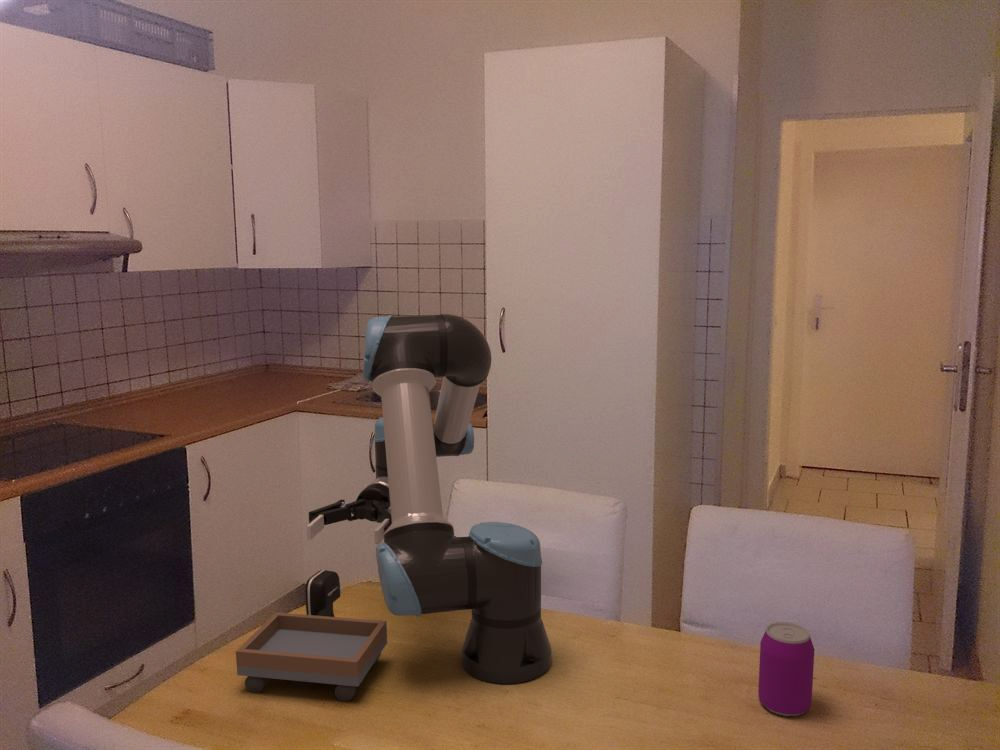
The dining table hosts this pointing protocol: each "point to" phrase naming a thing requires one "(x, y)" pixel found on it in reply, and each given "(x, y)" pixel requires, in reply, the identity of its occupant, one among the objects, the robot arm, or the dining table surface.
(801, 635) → the beverage can
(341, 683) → the tray
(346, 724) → the dining table surface
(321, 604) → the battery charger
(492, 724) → the dining table surface
